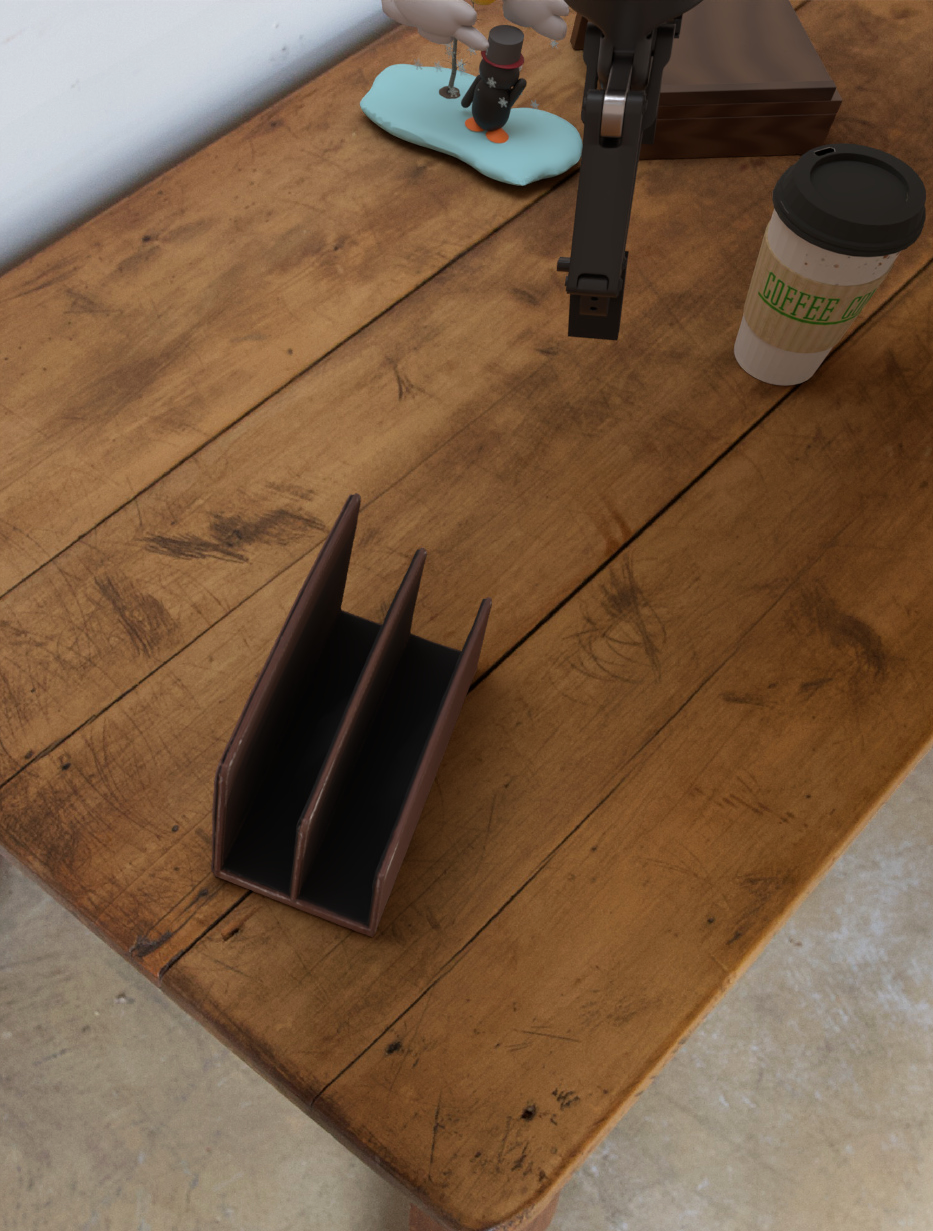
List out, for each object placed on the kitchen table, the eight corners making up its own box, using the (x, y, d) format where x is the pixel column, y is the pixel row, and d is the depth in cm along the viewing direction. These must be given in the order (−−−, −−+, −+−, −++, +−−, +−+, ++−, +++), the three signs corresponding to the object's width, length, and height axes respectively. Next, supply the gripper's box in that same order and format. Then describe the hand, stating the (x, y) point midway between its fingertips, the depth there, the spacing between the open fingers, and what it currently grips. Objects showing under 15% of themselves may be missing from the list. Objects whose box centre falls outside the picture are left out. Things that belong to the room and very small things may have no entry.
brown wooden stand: (759, 34, 118) (784, -33, 113) (819, 154, 108) (849, 86, 103) (569, 40, 117) (585, -28, 112) (613, 160, 108) (632, 93, 102)
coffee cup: (761, 419, 92) (847, 248, 79) (683, 332, 96) (752, 158, 84) (869, 380, 94) (970, 208, 81) (788, 297, 99) (871, 123, 86)
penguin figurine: (598, 154, 108) (648, -25, 95) (529, 215, 104) (572, 36, 91) (409, 65, 115) (432, -114, 102) (337, 118, 110) (351, -61, 97)
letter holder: (208, 877, 72) (204, 757, 60) (331, 616, 82) (348, 468, 70) (373, 942, 70) (403, 831, 58) (478, 666, 80) (522, 523, 68)
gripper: (600, -313, 57) (580, 61, 77) (501, 120, 50) (507, 413, 69) (775, -322, 55) (709, 65, 75) (700, 128, 48) (648, 428, 67)
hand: (612, 233), depth 72 cm, fingers open, 13 cm apart
